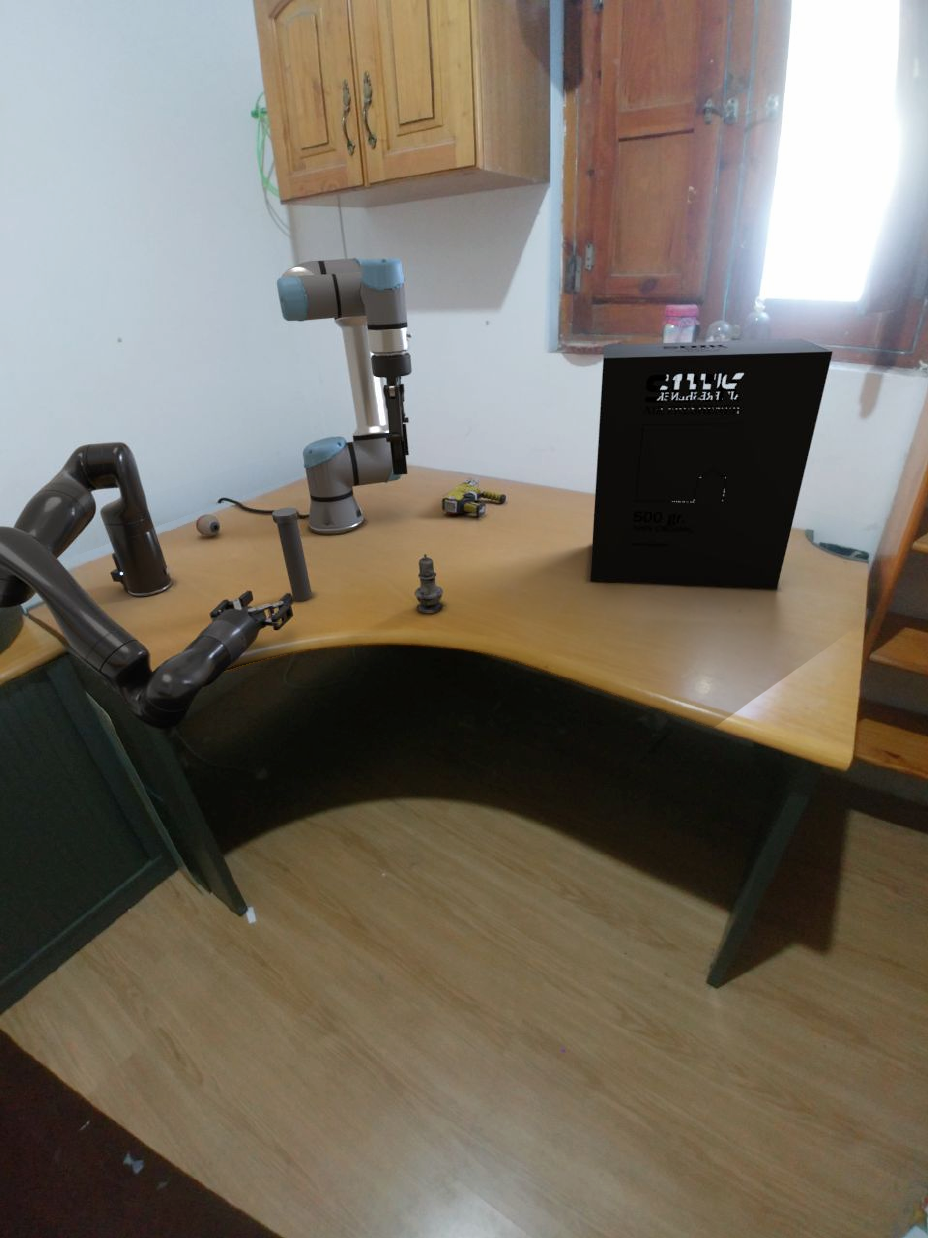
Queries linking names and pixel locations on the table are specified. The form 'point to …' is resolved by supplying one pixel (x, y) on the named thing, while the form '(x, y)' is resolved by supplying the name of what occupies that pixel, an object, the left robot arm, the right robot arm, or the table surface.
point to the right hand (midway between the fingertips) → (401, 464)
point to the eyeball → (208, 525)
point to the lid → (285, 515)
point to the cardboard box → (703, 460)
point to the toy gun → (468, 499)
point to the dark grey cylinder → (295, 561)
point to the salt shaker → (428, 588)
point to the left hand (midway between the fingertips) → (270, 595)
